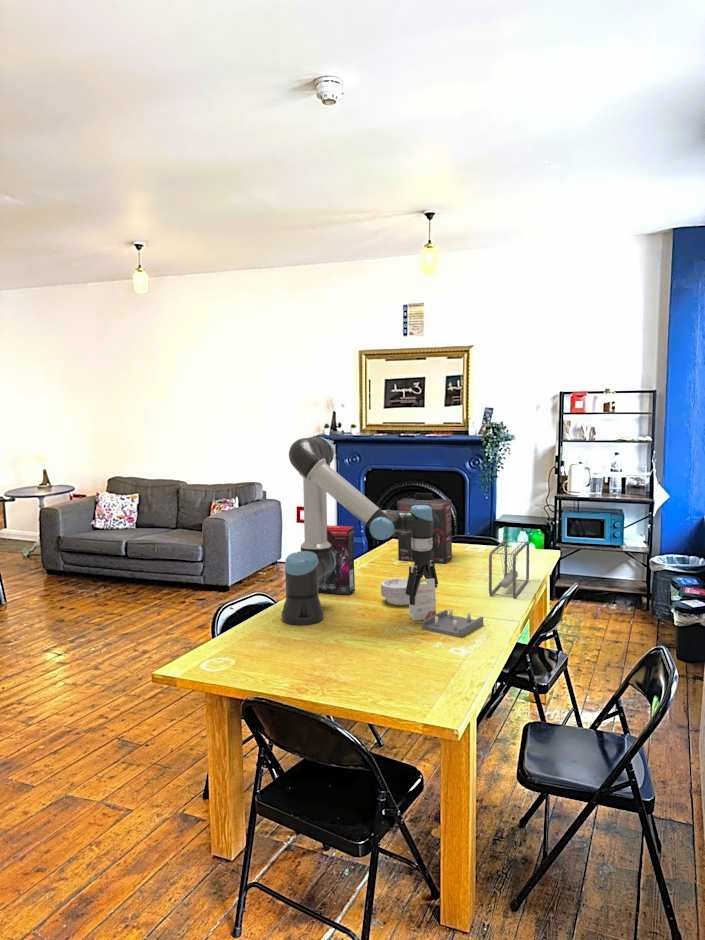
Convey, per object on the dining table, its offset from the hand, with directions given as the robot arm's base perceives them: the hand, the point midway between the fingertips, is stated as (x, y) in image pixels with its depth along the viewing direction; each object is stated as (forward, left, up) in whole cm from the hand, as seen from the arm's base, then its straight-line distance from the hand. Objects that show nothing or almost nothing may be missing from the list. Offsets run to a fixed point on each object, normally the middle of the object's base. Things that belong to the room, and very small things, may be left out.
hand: (422, 609), depth 249 cm
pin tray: (-3, -14, -3) cm, 15 cm away
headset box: (+80, +47, -3) cm, 93 cm away
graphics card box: (+9, +48, -3) cm, 49 cm away
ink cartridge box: (0, 0, -3) cm, 3 cm away
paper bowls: (+12, +17, -3) cm, 21 cm away
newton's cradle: (+54, -9, -3) cm, 55 cm away
